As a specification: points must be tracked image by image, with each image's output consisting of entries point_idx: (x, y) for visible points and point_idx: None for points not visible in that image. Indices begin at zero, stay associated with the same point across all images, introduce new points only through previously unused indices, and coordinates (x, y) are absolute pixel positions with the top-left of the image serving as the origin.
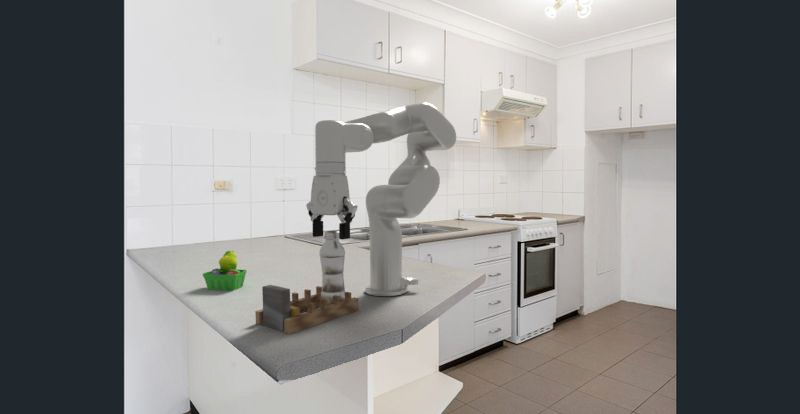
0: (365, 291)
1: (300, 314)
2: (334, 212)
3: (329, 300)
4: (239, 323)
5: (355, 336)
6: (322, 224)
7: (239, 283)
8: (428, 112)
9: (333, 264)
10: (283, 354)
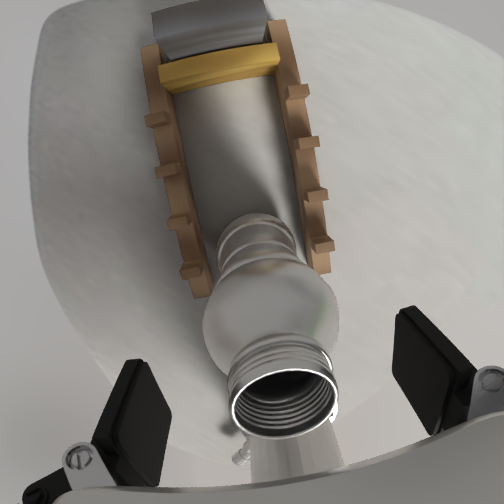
0: None
1: (162, 88)
2: (69, 500)
3: (232, 224)
4: (311, 12)
5: (49, 170)
6: (423, 418)
7: None
8: None
9: (219, 279)
10: (70, 25)
